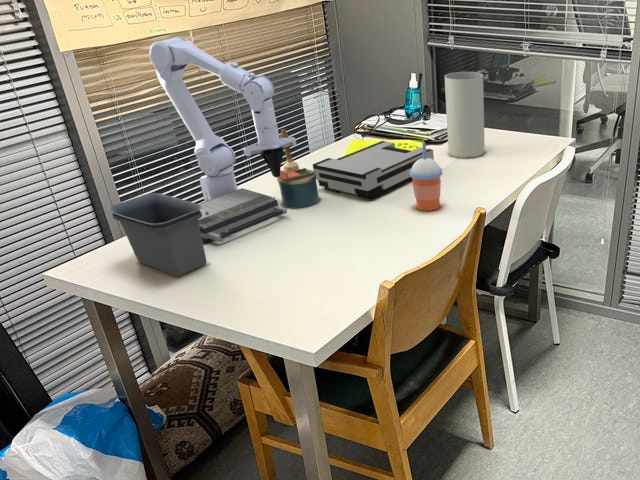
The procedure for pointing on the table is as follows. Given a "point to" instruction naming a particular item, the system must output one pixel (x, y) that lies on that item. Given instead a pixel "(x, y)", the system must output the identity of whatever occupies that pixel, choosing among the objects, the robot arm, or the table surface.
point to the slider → (288, 174)
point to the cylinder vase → (465, 114)
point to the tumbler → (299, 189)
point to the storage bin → (163, 231)
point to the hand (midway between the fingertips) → (276, 176)
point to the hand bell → (288, 155)
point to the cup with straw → (426, 182)
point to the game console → (369, 170)
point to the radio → (235, 213)
